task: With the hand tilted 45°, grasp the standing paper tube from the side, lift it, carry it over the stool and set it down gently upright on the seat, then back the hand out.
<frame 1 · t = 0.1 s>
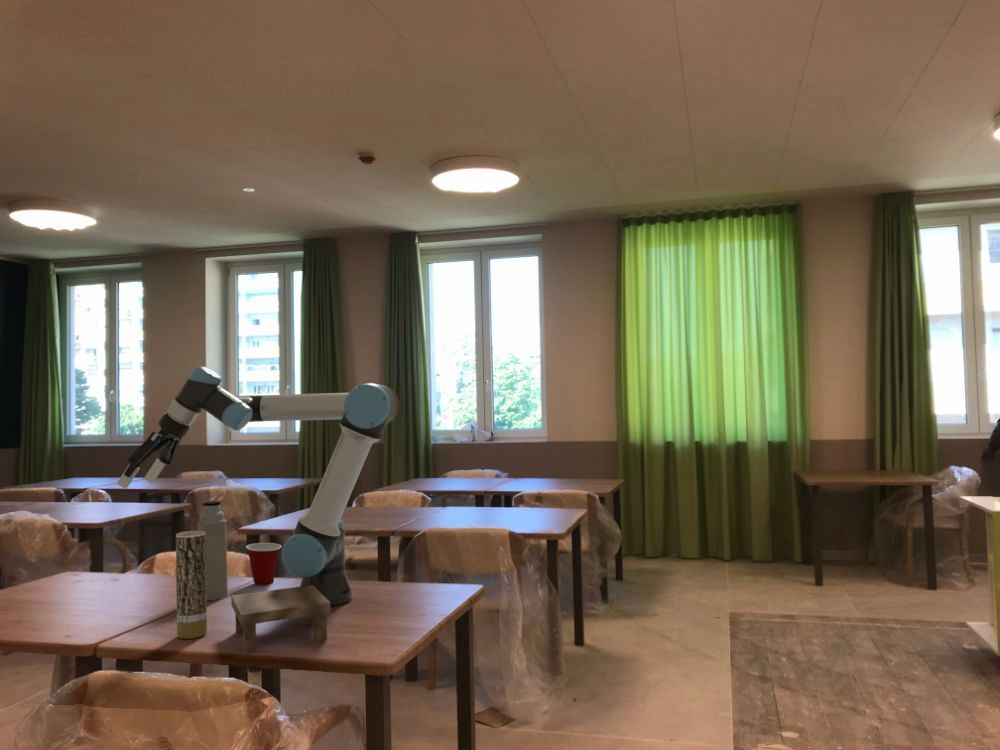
hand: (135, 483, 205), 36 cm above the table, tool tilted 35°, fingers open, 13 cm apart
plastic cup: (264, 583, 238), on the table
paper tube: (192, 636, 184), on the table
stool: (280, 636, 182), on the table
thermos bottle: (213, 597, 222), on the table
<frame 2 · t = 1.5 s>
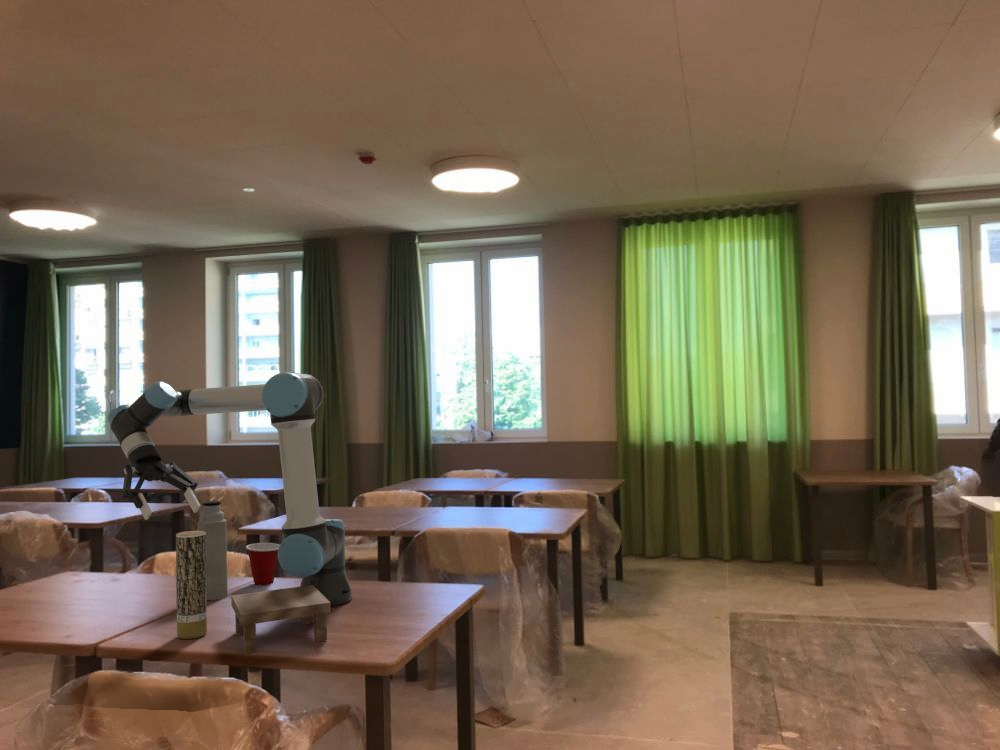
hand: (173, 512, 195), 29 cm above the table, tool tilted 45°, fingers open, 13 cm apart
nothing on the table moved.
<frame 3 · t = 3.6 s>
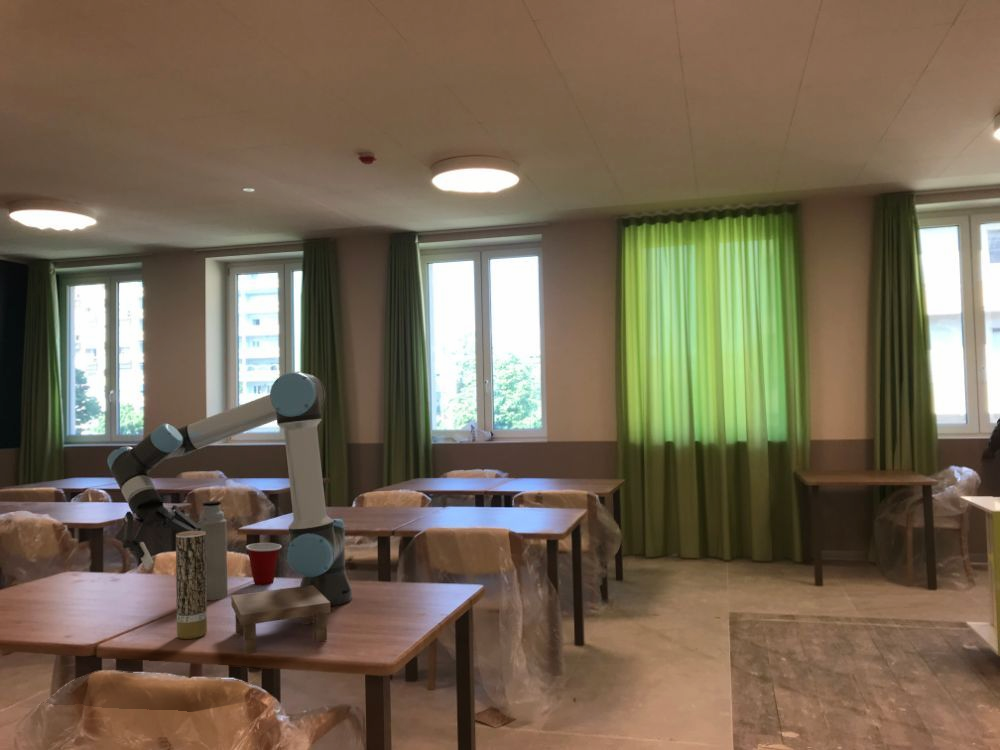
hand: (176, 561, 187), 18 cm above the table, tool tilted 45°, fingers open, 13 cm apart
nothing on the table moved.
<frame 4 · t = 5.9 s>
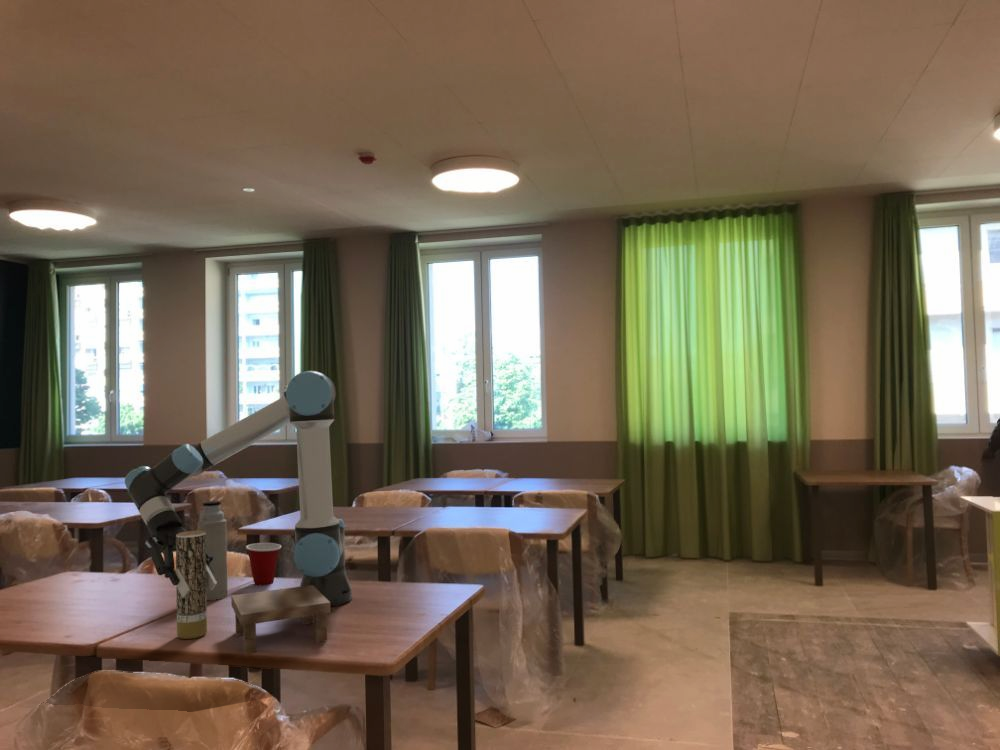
hand: (200, 590, 183), 11 cm above the table, tool tilted 45°, fingers closed on paper tube, 7 cm apart
paper tube: (192, 636, 184), on the table, touching gripper
everything else where it was.
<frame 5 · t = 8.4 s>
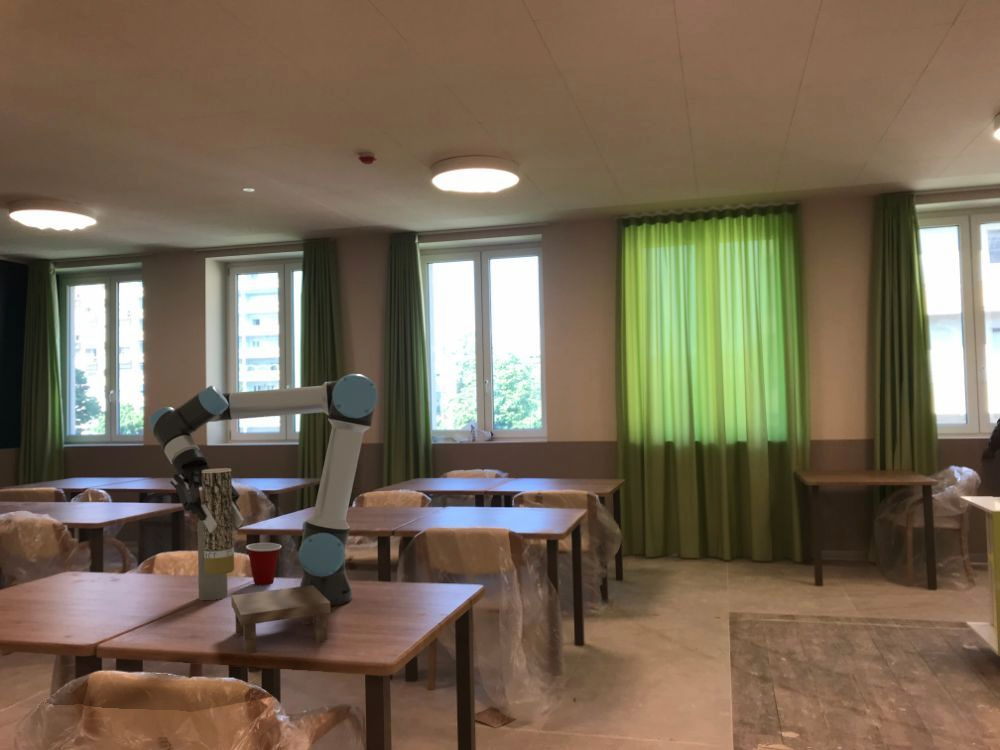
hand: (227, 526, 182), 27 cm above the table, tool tilted 45°, fingers closed on paper tube, 7 cm apart
paper tube: (219, 573, 183), point 15 cm above the table, touching gripper
everything else where it was.
when the fingers open (22 cm above the table, at t = 10.7 s): paper tube drops 1 cm, resting on stool.
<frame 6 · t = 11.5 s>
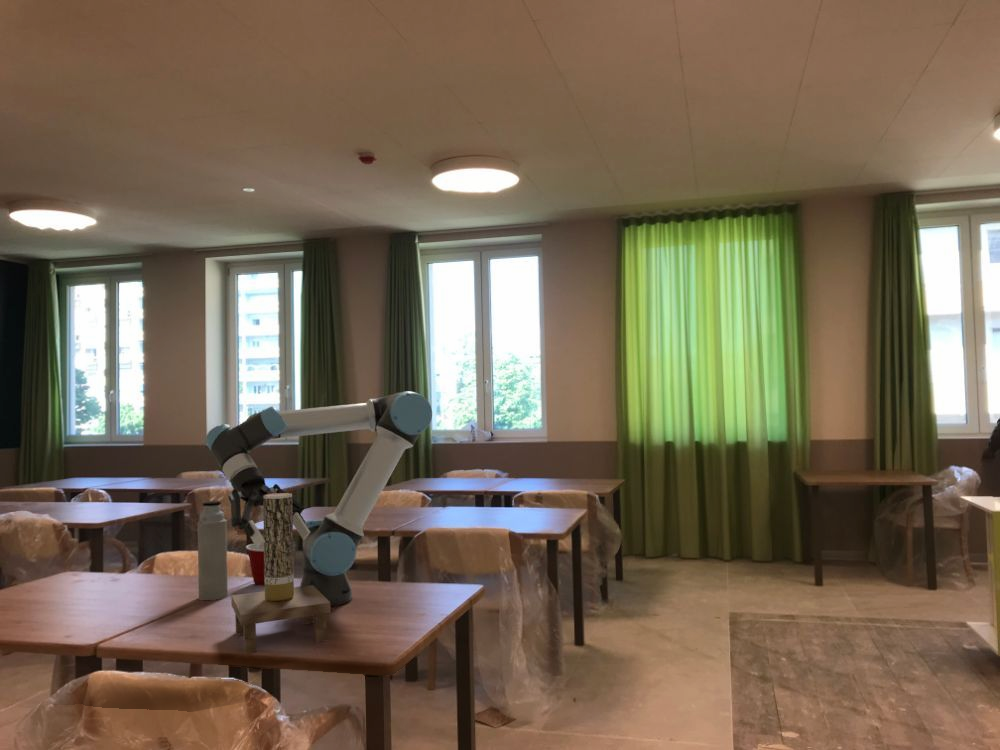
hand: (284, 540, 181), 23 cm above the table, tool tilted 45°, fingers open, 13 cm apart
paper tube: (279, 599, 182), point 9 cm above the table, touching stool
everything else where it was.
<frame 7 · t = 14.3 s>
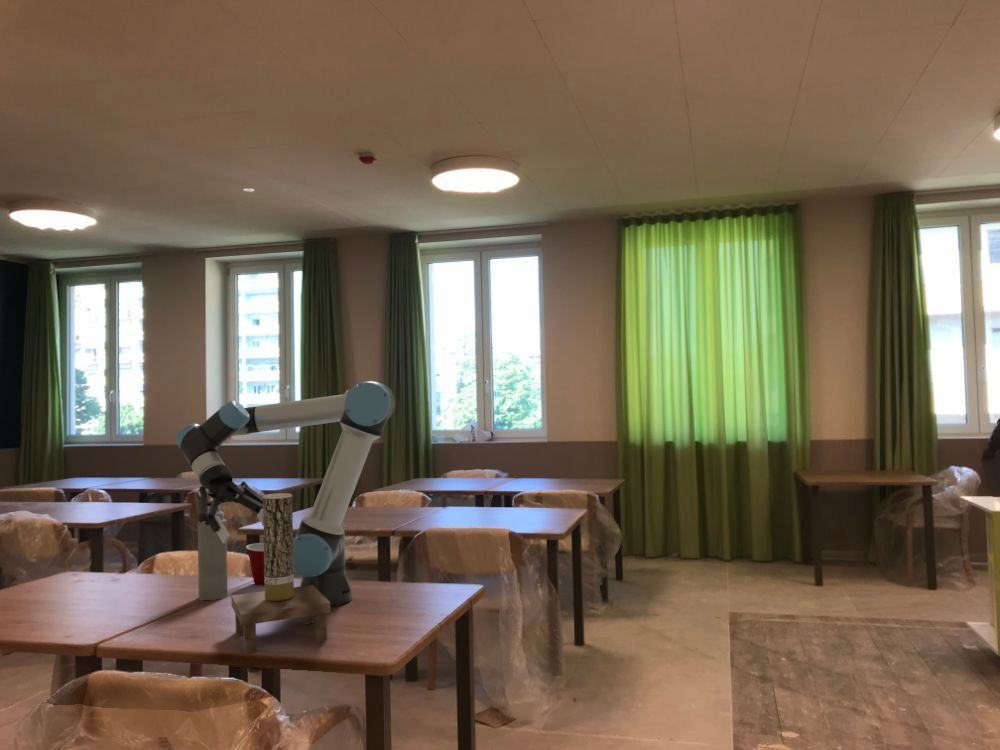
hand: (250, 535, 189), 23 cm above the table, tool tilted 45°, fingers open, 13 cm apart
nothing on the table moved.
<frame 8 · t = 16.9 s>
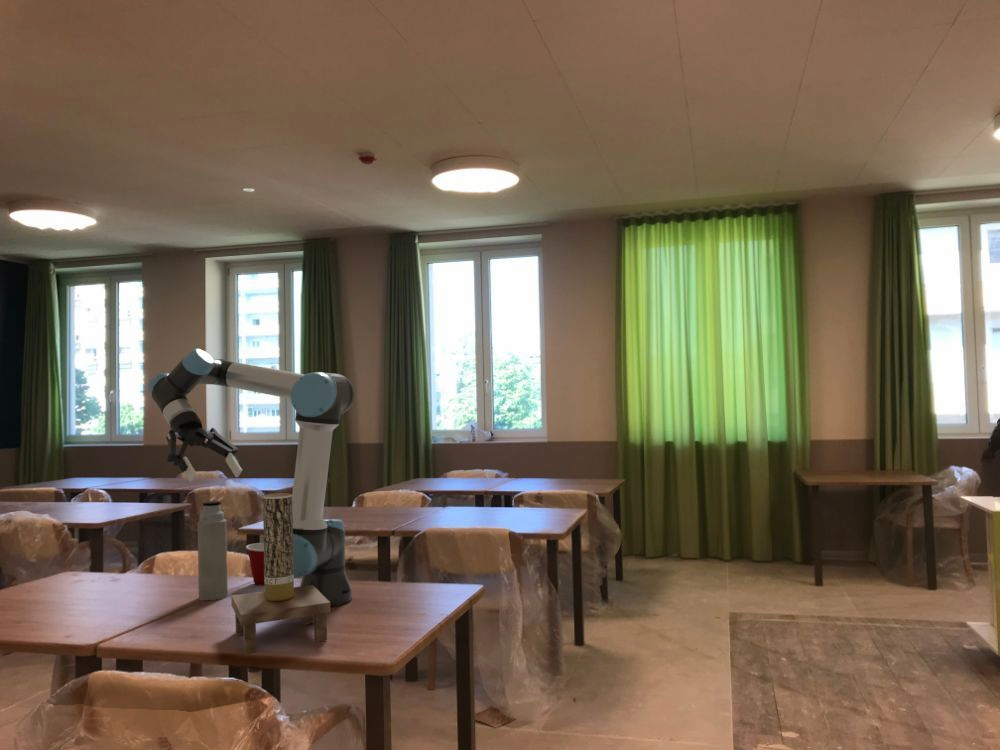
hand: (217, 476, 198), 38 cm above the table, tool tilted 45°, fingers open, 13 cm apart
nothing on the table moved.
at the end: paper tube inside the target area on the stool (0.1 cm from its centre), point 8.8 cm above the stool's base; paper tube tilted 0°; the gripper is holding nothing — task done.
